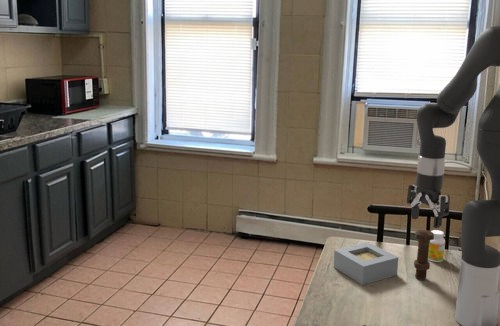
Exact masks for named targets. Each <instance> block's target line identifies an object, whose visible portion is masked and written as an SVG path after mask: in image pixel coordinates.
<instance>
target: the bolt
mask: <svg viewBox="0 0 500 326" xmlns="http://www.w3.org/2000/svg"><path fill="white" fill-rule="evenodd" d="M431 231H432V230H431ZM431 231H430V230H427V229H418V230H415V232H414V233H415V239H416V240H417V241H418V242H417V253H416V254H417V255H416V259H414V261H413V266H414V268H415V278H416V280H425V279H427V271H428V270H429V269H431V268H430V267H431V264H430V260H428V252H429V244H430V240H434V234H433V233H432V232H431Z"/></svg>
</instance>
